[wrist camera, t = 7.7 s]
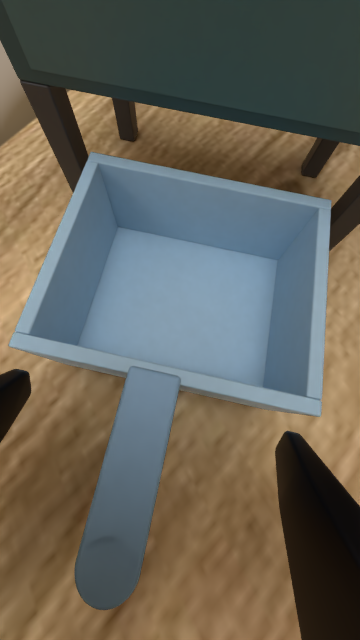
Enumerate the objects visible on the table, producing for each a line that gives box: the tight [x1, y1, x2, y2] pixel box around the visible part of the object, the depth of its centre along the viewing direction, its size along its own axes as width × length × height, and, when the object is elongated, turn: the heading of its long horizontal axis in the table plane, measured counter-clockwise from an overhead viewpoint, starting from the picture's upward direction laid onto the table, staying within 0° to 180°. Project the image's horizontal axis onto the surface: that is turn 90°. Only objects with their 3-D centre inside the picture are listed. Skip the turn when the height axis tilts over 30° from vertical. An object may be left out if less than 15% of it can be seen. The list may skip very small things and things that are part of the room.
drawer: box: [9, 152, 331, 610], centre depth 11 cm, size 14×12×10 cm
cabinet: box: [0, 0, 360, 251], centre depth 13 cm, size 10×16×12 cm, turn 78°
